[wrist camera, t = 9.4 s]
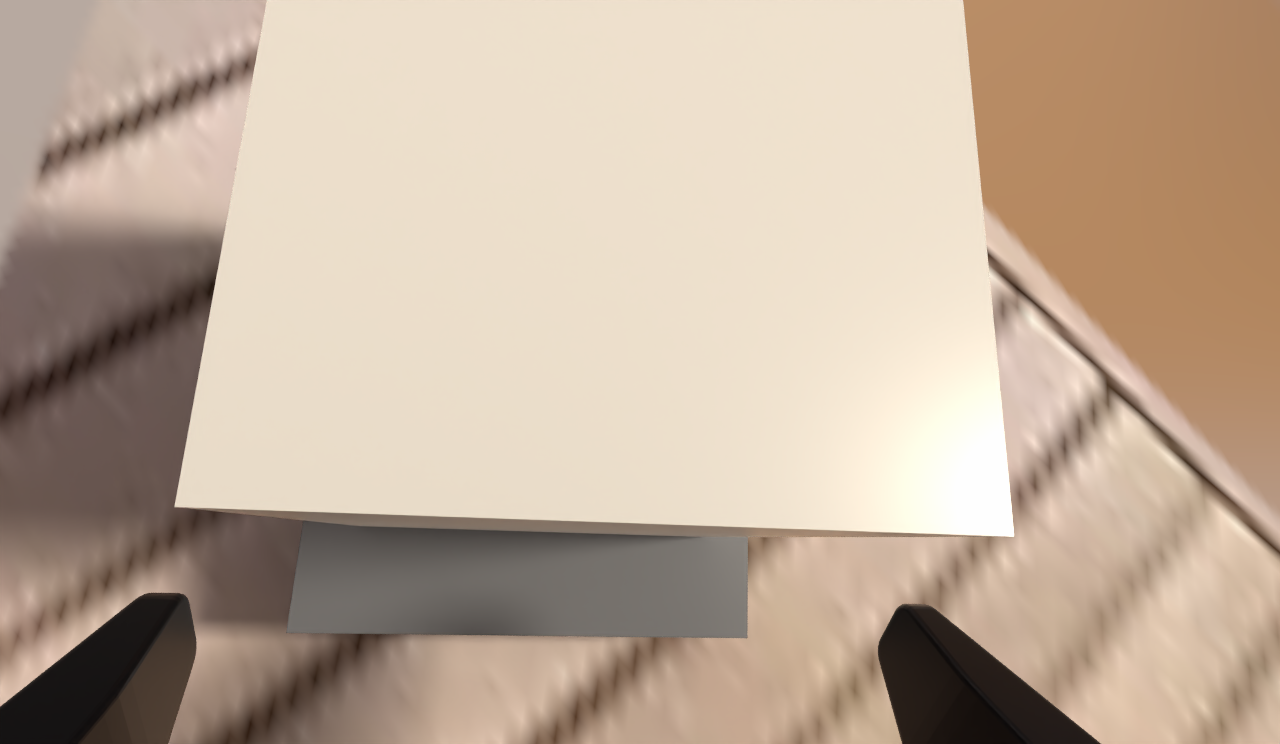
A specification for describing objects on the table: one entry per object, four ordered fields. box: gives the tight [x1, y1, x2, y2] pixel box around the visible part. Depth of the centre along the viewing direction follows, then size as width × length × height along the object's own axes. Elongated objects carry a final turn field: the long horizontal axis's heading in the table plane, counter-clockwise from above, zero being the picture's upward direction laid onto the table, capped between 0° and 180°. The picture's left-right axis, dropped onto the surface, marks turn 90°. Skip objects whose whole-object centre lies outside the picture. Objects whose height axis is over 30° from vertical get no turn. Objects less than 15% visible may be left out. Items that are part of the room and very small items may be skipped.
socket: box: [286, 520, 748, 638], centre depth 16 cm, size 11×9×2 cm
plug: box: [174, 0, 1014, 537], centre depth 12 cm, size 7×7×11 cm
